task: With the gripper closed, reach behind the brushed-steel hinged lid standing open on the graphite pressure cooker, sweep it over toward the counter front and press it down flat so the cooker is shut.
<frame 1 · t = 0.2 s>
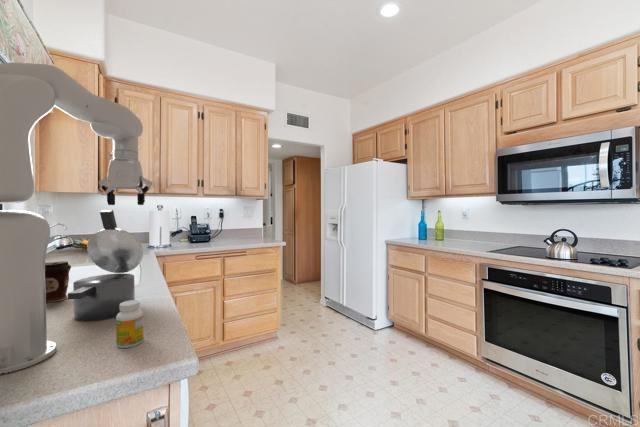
hand: (126, 204, 104), 33 cm above the countertop, fingers open, 9 cm apart
cooker pot: (106, 311, 90), on the countertop
coffee cup: (54, 300, 100), on the countertop
supplement bottle: (130, 344, 69), on the countertop
cooker lid: (115, 241, 95), point 21 cm above the countertop, hinge at 70.0°
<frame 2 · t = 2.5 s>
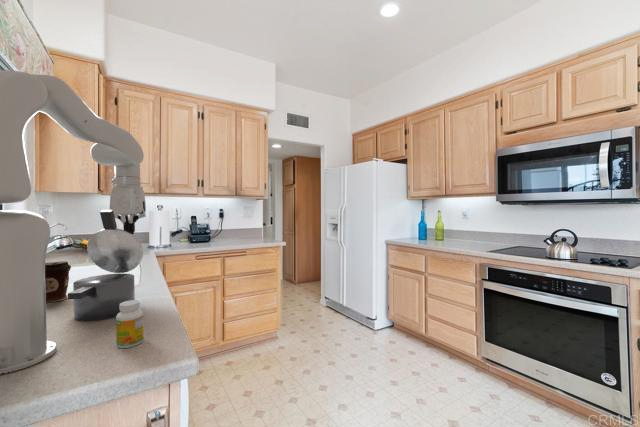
hand: (129, 234, 104), 22 cm above the countertop, fingers closed
nothing on the countertop moved.
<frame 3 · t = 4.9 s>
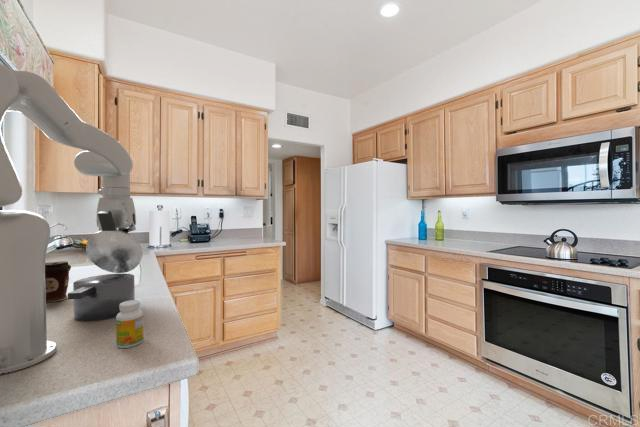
hand: (118, 248, 96), 18 cm above the countertop, fingers closed
cooker lid: (114, 242, 94), point 21 cm above the countertop, hinge at 66.7°, touching gripper
everything else where it was.
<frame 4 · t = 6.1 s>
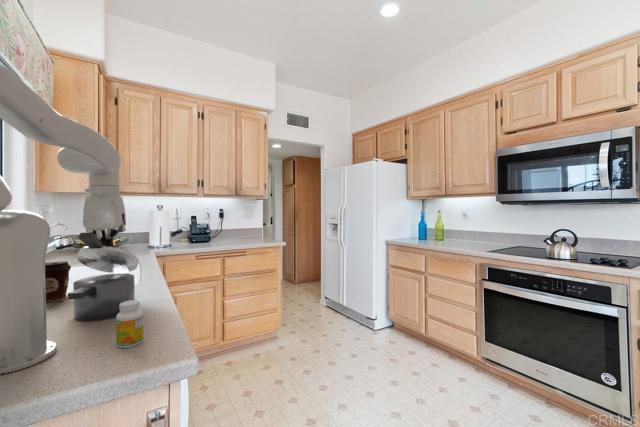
hand: (106, 251, 90), 18 cm above the countertop, fingers closed
cooker lid: (105, 252, 90), point 18 cm above the countertop, hinge at 38.8°
everything else where it was.
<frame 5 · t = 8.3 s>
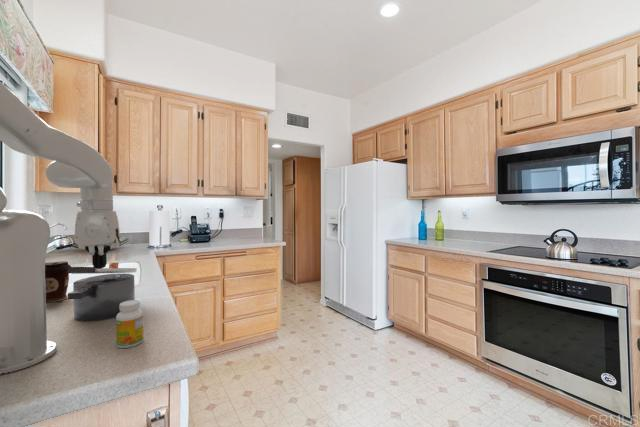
hand: (99, 267, 87), 14 cm above the countertop, fingers closed
cooker lid: (100, 267, 87), point 14 cm above the countertop, hinge at 13.0°, touching gripper
everything else where it was.
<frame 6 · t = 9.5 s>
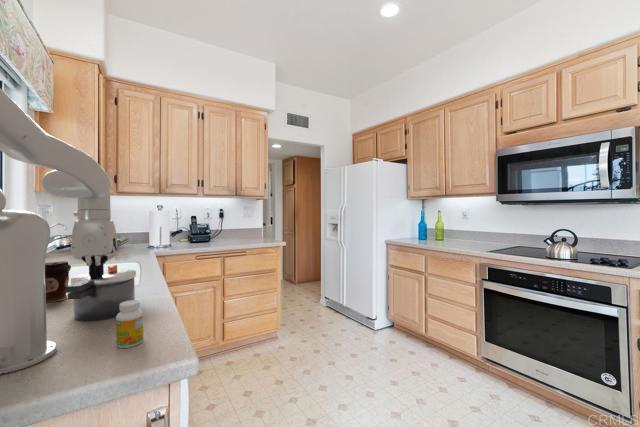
hand: (96, 278, 85), 11 cm above the countertop, fingers closed
cooker lid: (99, 276, 86), point 12 cm above the countertop, hinge at 0.1°, touching gripper
everything else where it was.
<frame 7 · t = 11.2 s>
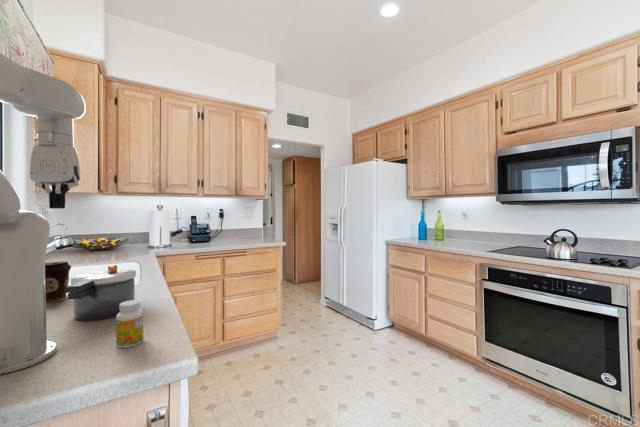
hand: (57, 208, 81), 32 cm above the countertop, fingers closed
cooker lid: (99, 276, 86), point 12 cm above the countertop, hinge at 0.0°
everything else where it was.
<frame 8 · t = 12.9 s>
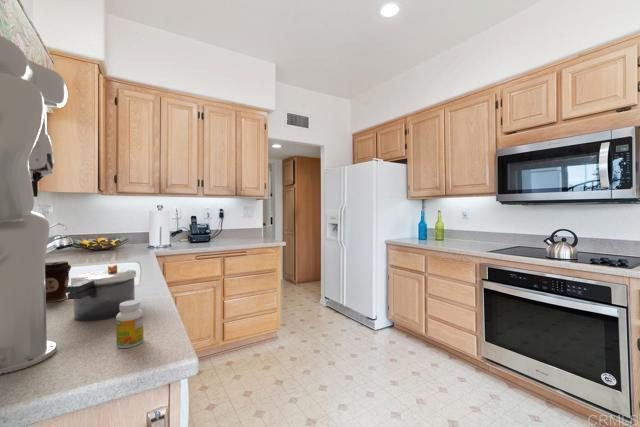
hand: (29, 196, 79), 35 cm above the countertop, fingers closed
nothing on the countertop moved.
at the end: cooker lid at +0° (first picture: +70°); coffee cup moved 0.2 cm from its start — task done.
